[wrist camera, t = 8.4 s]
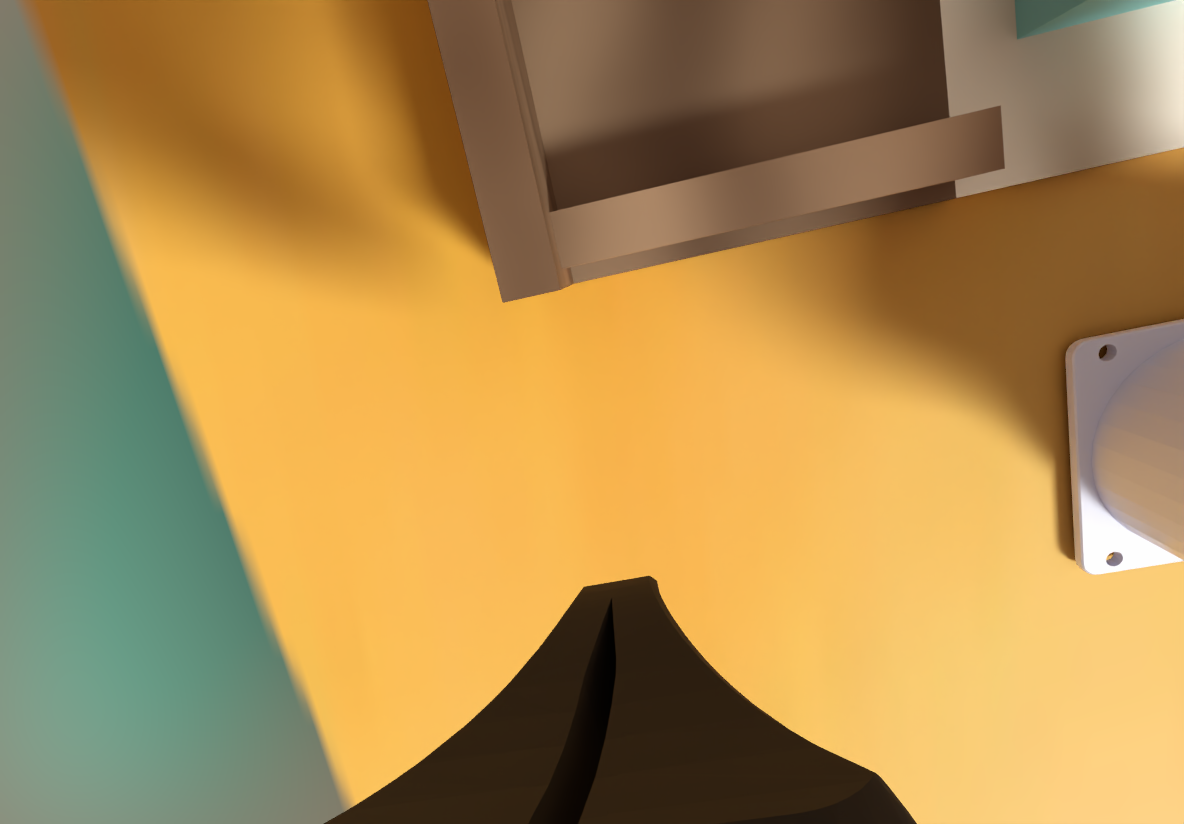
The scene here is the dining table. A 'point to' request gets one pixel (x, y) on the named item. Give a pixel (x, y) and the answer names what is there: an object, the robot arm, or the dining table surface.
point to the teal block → (1069, 13)
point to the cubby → (775, 117)
